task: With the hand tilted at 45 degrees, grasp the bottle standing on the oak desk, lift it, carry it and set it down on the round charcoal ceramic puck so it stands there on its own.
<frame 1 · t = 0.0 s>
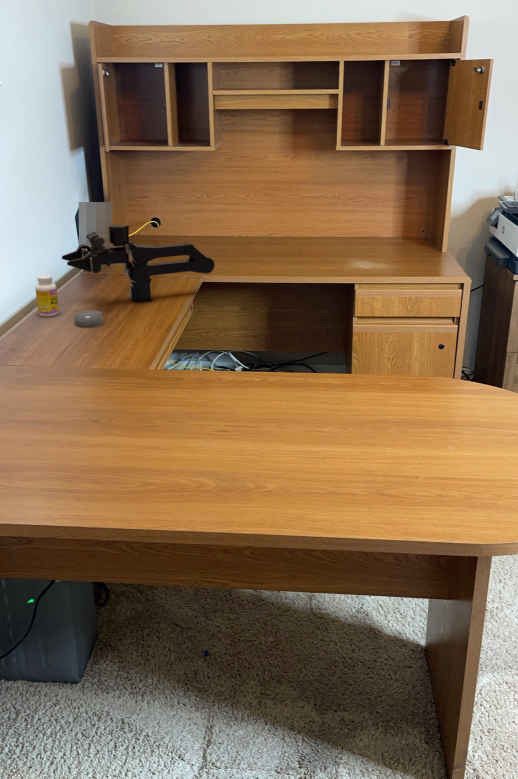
hand: (64, 260, 237), 17 cm above the table, tool horizontal, fingers open, 9 cm apart
puck: (88, 323, 229), on the table
supplement bottle: (49, 314, 237), on the table
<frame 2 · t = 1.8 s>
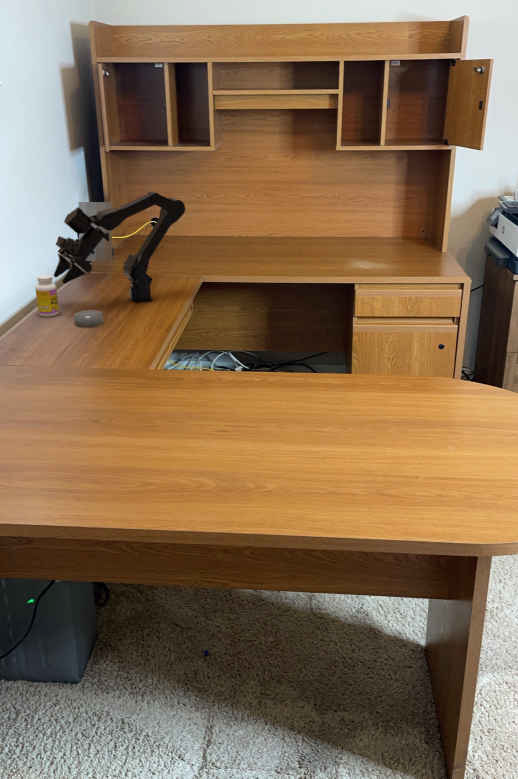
hand: (58, 279, 235), 11 cm above the table, tool tilted 45°, fingers open, 9 cm apart
nothing on the table moved.
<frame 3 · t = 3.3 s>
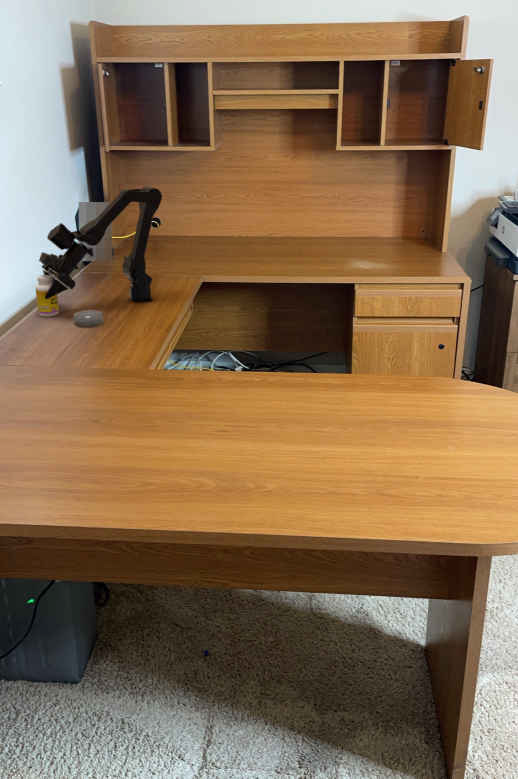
hand: (42, 295, 234), 7 cm above the table, tool tilted 45°, fingers closed on supplement bottle, 7 cm apart
supplement bottle: (49, 314, 237), on the table, touching gripper
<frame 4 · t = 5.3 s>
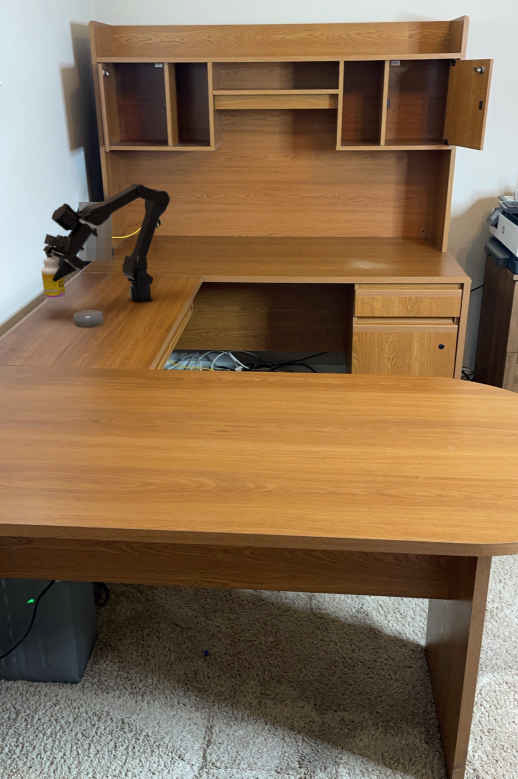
hand: (49, 278, 228), 13 cm above the table, tool tilted 45°, fingers closed on supplement bottle, 6 cm apart
supplement bottle: (55, 298, 232), point 6 cm above the table, touching gripper
when the fingers open (10 cm above the table, at t = 7.2 s): supplement bottle stays where it is, resting on puck.
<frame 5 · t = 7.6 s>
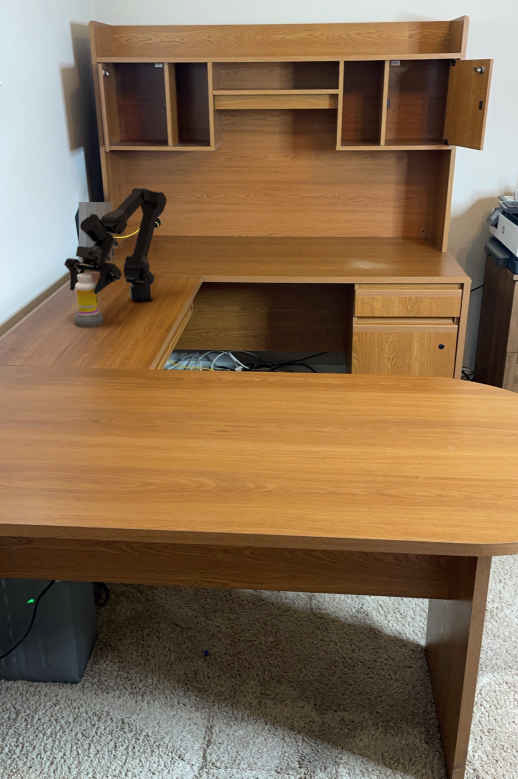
hand: (83, 291, 223), 11 cm above the table, tool tilted 45°, fingers open, 9 cm apart
supplement bottle: (88, 314, 228), point 3 cm above the table, touching puck
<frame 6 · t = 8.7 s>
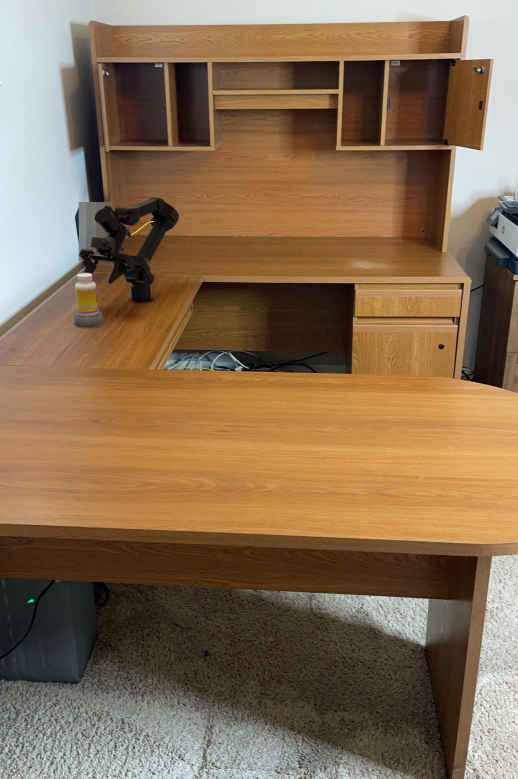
hand: (97, 281, 229), 12 cm above the table, tool tilted 45°, fingers open, 9 cm apart
nothing on the table moved.
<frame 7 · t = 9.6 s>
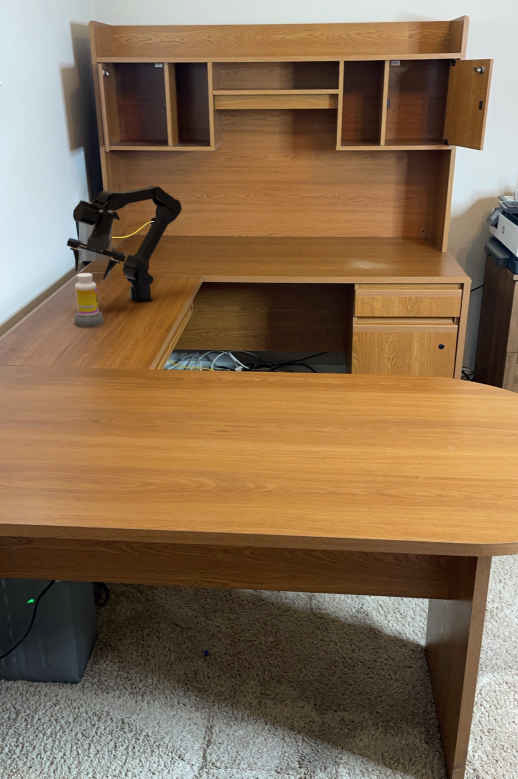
hand: (90, 275, 235), 12 cm above the table, tool tilted 25°, fingers open, 9 cm apart
nothing on the table moved.
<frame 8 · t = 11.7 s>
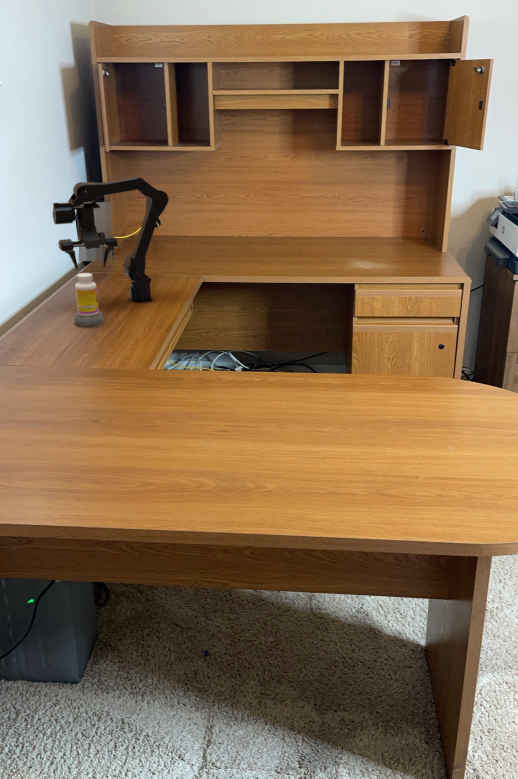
hand: (90, 268, 241), 13 cm above the table, tool pointing down, fingers open, 9 cm apart
nothing on the table moved.
at the end: supplement bottle 0.1 cm from the puck (horizontally); supplement bottle touching puck; supplement bottle tilted 0° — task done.
